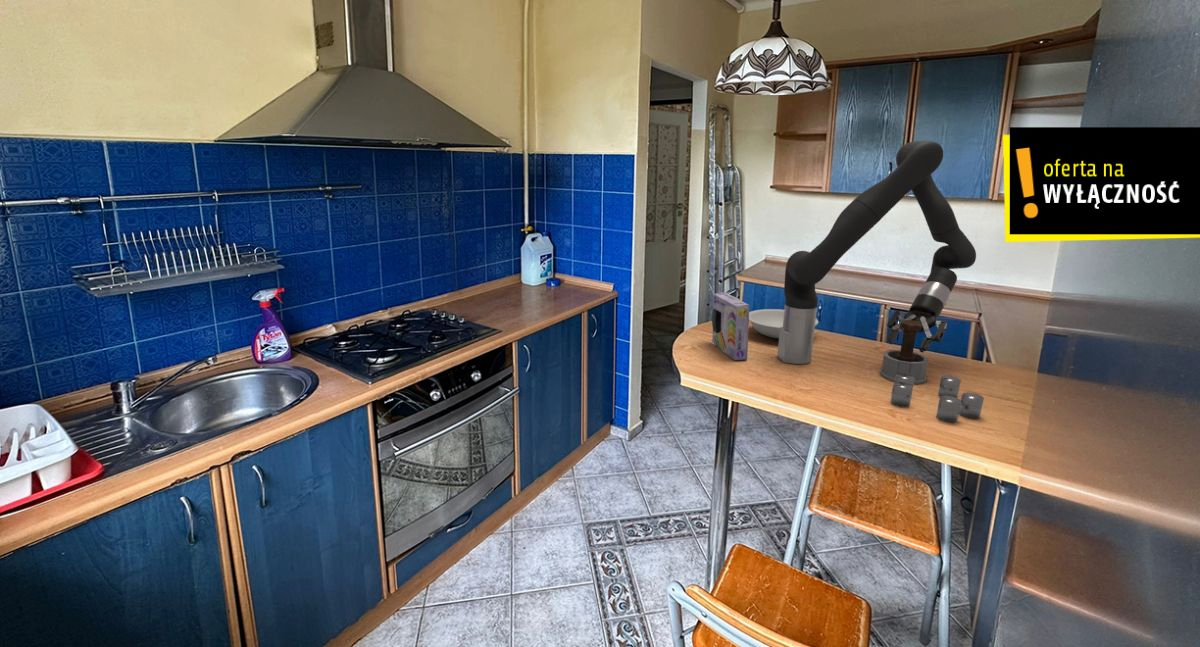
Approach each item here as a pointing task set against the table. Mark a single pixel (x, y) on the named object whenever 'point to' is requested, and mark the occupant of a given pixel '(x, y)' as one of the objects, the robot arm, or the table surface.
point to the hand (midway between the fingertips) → (905, 346)
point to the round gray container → (904, 367)
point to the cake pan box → (730, 325)
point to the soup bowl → (768, 321)
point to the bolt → (908, 340)
